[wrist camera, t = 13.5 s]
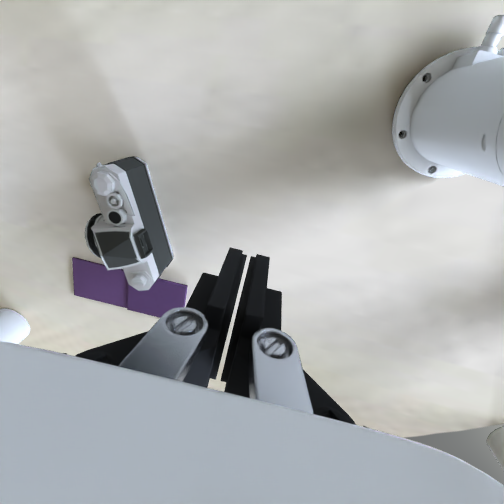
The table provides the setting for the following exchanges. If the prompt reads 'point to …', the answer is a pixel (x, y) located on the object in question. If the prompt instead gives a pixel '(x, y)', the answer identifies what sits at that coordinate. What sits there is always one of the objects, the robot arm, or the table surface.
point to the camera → (128, 222)
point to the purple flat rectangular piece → (125, 289)
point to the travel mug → (497, 445)
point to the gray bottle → (13, 326)
